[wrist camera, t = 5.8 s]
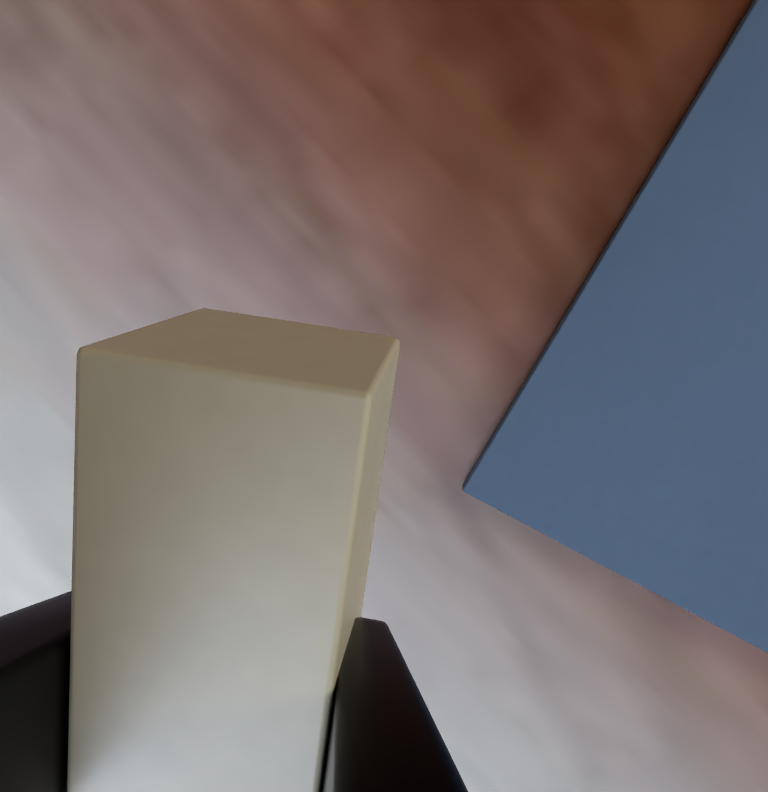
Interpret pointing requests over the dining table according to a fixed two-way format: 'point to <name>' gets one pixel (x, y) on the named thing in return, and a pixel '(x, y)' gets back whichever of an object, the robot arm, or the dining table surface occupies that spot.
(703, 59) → the dining table surface
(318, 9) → the dining table surface
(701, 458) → the placemat
